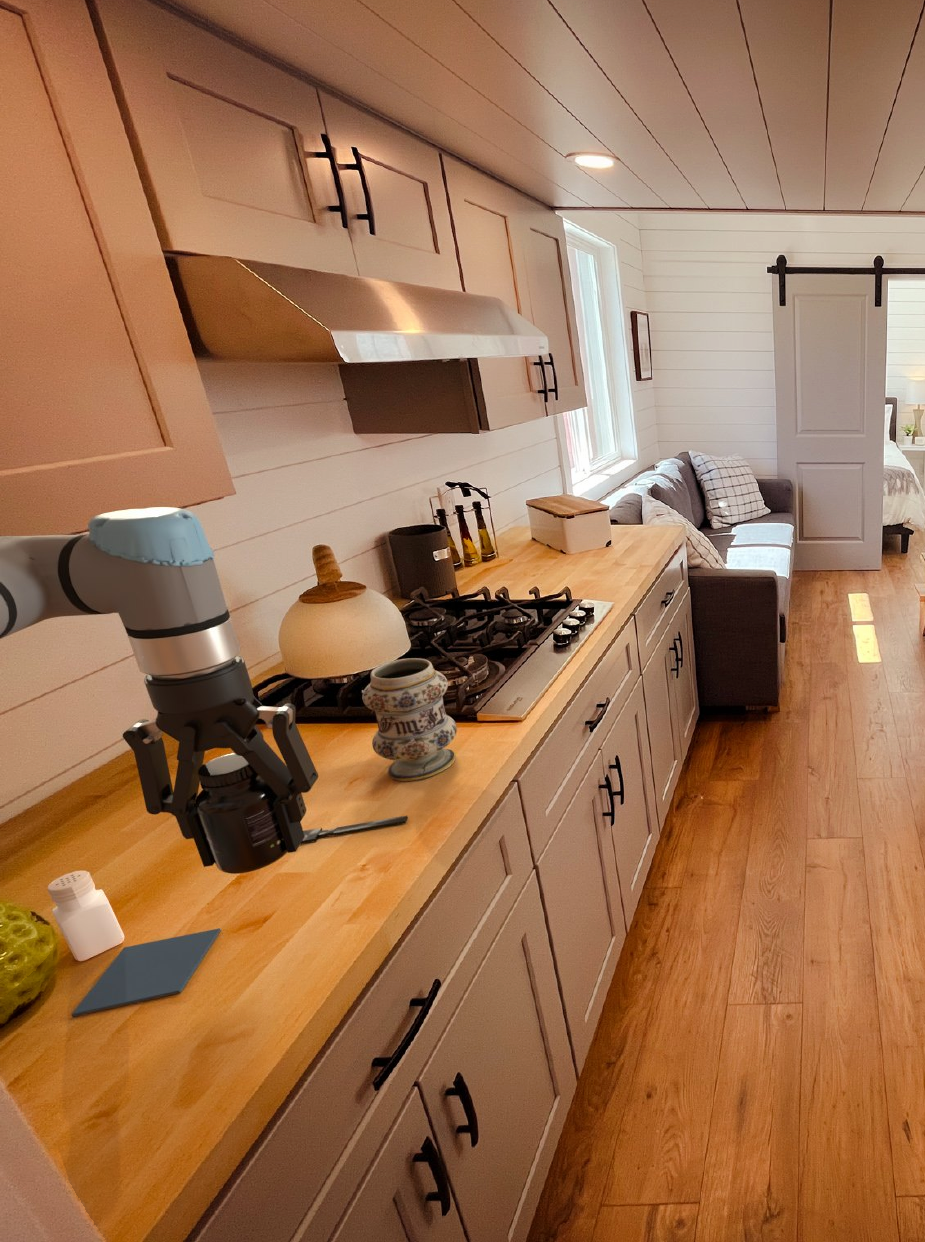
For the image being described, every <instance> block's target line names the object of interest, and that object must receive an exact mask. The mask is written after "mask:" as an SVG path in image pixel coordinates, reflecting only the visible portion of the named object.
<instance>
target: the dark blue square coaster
mask: <svg viewBox="0 0 925 1242" xmlns="http://www.w3.org/2000/svg"><path fill="white" fill-rule="evenodd" d="M220 933H221V928H215V929H208V930H204V931H198V932H194V933H188V934H183V935H179V936H175V937H169V938H165V939H159V940H153V941H150V942H144V943H139V944H135V945H129V946H124V947H123V948H122V950H121V951H120V952H119V953H118V955H117V956H116V957H115V958H114V960H113V961H112V962H111V964H110V965H109V966H108V967H107V968H106V970H105V971H104V972H103V973H102V974H101V976H100V977H99V978H98V980H96V982H95V983H94V985H93V986H92V987H91V989H90V990H89V991H88V993H87V994H86V995H84V997H83V999H82V1000H81V1001H80V1003H79V1004H78V1005H77V1006H76V1008H75V1009H74V1010H73V1011H72V1013H71V1014H70V1015H71V1016H72V1017H78V1016H83V1015H87V1014H91V1013H96V1012H101V1011H106V1010H110V1009H115V1008H119V1007H124V1006H128V1005H131V1004H136V1003H141V1002H146V1001H151V1000H155V999H160V998H163V997H169V996H173V995H178V994H181V993H182V991H183V990H184V988H185V987H186V985H187V984H188V982H189V980H190V979H191V978H192V976H193V975H194V973H195V971H196V970H197V968H198V967H199V964H201V963H202V960H203V959H204V957H205V956H206V954H207V953H208V951H209V950H210V948H211V947H212V945H213V943H214V942H215V940H216V939H217V937H218V936H219V934H220Z"/></svg>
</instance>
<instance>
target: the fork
mask: <svg viewBox="0 0 925 1242" xmlns="http://www.w3.org/2000/svg"><path fill="white" fill-rule="evenodd" d="M408 818H409V817H408V815H402V816H396V817H391V818H384V819H379V820H378V819H377V820H371V821H367V822H360V823H355V824H350V825H348V824H347V825H343V826H337V827H335V828H329V829H324V830H323V828H322V827H318V828H312V829H306V830H303V832H304V836H305V837H304V839H303V840H302V842H301V844H300V845H304V844H309V843H310V844H311V843H315V842H317V841H318V840H319V839H320V838H325V837H326V838H327V837H333V836H334V837H336V836H343V835H349V834H354V833H360V832H366V831H371V830H377V829H382V828H383V829H384V828H387V827H388V828H389V827H393V826H399V825H405V824H406V823H407V821H408Z"/></svg>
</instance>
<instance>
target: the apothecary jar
mask: <svg viewBox="0 0 925 1242" xmlns="http://www.w3.org/2000/svg"><path fill="white" fill-rule="evenodd" d="M448 686H449V682H448V679H447V678H446V676H445V675H444V674H443V673H441V672H440V671H438V670H435V668H434V665H433V664H432V662H431V661H429V660H428V659H425V658H420V657H419V658H417V657H414V658H413V657H411V658H409V657H408V658H401V659H395V660H391V661H388V662H385V663H382V664H380V665H378V666H376V667H374V668H373V669H372V670H371V671H370V683H368V685H366V687H365V688H364V690H363V692H362V696H361V699H362V702H363V704H364V706H365V707H366V708H367V709H369V710H372V711H374V713H375V717H376V723H377V728H378V729H377V730H376V732H375V734H374V735H373V738H372V742H371V746H372V749H373V751H374V753H375V754H376V755H377V756H379V757H380V758H384V759H387V760H389V761H393V762H392V764H391V765H390V766H389V768H388V770H387V774H388V776H389V777H390V779H392V780H395V781H399V782H411V781H413V782H414V781H419V780H425V779H427V778H430V777H433V776H436V775H438V774H440V773H442V772H444V771H445V770H447V769H449V768H450V767H451V766H452V765H453V764H454V762H455V761H456V757H457V756H456V753H455V752H454V750H452V749H448V748H447V747H448V746H449V745H450V744H451V743H452V742H453V741H454V739H455V737H456V736H457V732H458V726H457V725H458V724H457V723H456V721H455V720H454V719H453V718H452V717H451V716H450V715H448V714H447V712H446V709H445V704H444V698H443V696H444V695H445V694H446V692H447V690H448Z"/></svg>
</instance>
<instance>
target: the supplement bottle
mask: <svg viewBox="0 0 925 1242" xmlns="http://www.w3.org/2000/svg"><path fill="white" fill-rule="evenodd" d="M198 776H199V779H200V784H199V786H200V787H201V791H200V792H198V796H197V798H196V801H195V808H196V811H197V814H198V817H199V820H200V823H201V825H202V828H203V831H204V834H205V836H206V839H207V842H208V845H209V848H210V850H211V853H212V856H213V859H214V861H215V863H214V864H215V866H216V868H217V869H218V870H219V871H221V872H223V873H226V874H230V875H231V874H232V875H238V874H239V875H240V874H246V873H252V872H255V871H258V870H261V869H263V868H266V867H268V866H270V865H273V864H275V863H276V862H278V861H279V860H280V859H282V858H283V857H284V856H285V855H286V854H288V852H287V849H286V846H285V843H284V839H283V836H282V833H281V830H280V827H279V823H278V820H277V817H276V814H275V811H274V807H273V803H274V801H275V800H276V799H277V797H278V796H277V794H276V793H275V792H274V791H273V790H272V789H271V788H270V787H269V786H268V784H267V783H266V782H265V781H264V780H263V779H262V778H261V777H260V775H259V774H258V773H257V772H256V771H255V770H254V769H253V768H252V767H251V765H250V764H249V763H248V762H247V761H246V760H245V759H244V758H243V757H242V756H238V755H236V754H235V753H234V752H233V753H232V752H231V753H227V754H224V755H220V756H217V757H215V758H212V759H210V760H208V761H207V762H205V763H203V765H202V766H201V767H200V769H198Z"/></svg>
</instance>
